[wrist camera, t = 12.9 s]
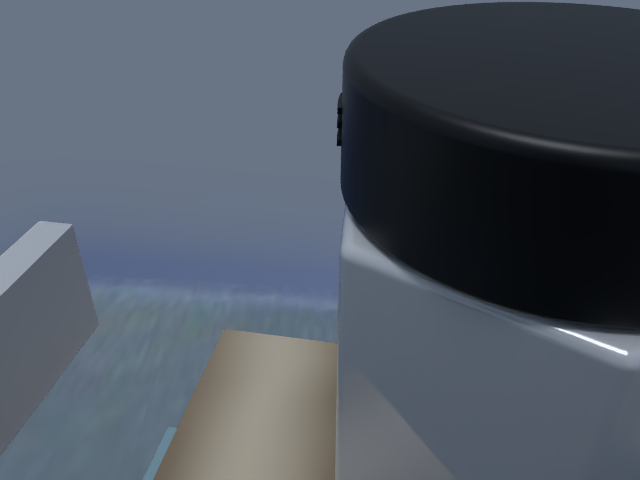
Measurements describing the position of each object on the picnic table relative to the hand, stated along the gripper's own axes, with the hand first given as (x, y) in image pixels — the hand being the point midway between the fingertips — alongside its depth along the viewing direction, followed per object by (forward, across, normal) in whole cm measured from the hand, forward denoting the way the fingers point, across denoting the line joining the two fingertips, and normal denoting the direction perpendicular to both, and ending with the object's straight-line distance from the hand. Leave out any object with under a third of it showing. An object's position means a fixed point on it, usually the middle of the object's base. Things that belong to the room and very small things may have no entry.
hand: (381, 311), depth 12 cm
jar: (+1, +3, -7) cm, 8 cm away
